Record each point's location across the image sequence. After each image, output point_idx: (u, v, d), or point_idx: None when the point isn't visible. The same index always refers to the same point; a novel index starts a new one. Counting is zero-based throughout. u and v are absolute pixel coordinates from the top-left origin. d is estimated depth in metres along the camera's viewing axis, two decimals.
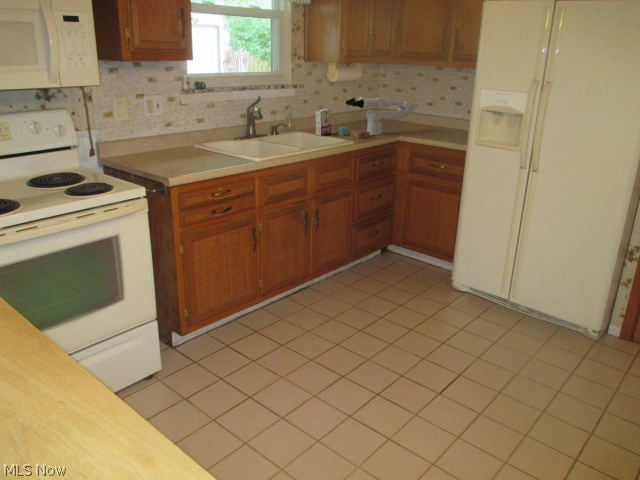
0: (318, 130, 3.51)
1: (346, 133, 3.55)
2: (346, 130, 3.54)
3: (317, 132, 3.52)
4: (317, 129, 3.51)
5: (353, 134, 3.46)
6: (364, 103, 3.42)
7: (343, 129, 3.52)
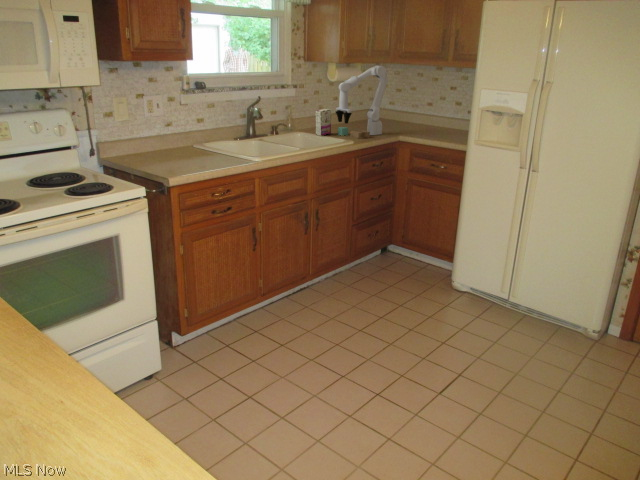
0: (318, 130, 3.51)
1: (346, 133, 3.55)
2: (346, 130, 3.54)
3: (317, 132, 3.52)
4: (317, 129, 3.51)
5: (353, 134, 3.46)
6: (348, 112, 3.46)
7: (343, 129, 3.52)
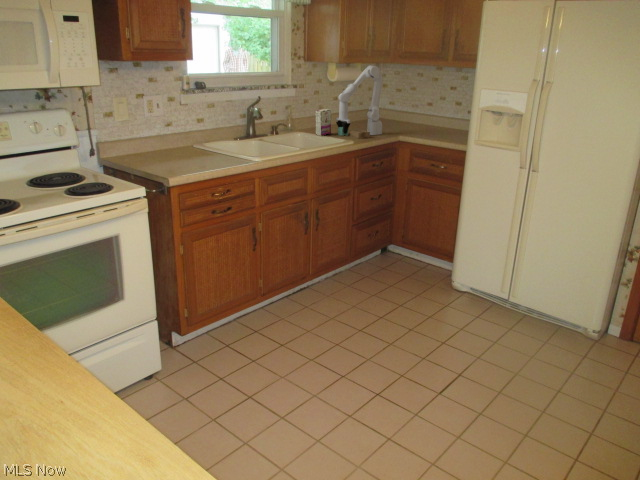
0: (318, 130, 3.51)
1: (346, 133, 3.55)
2: None
3: (317, 132, 3.52)
4: (317, 129, 3.51)
5: (353, 134, 3.46)
6: (348, 123, 3.48)
7: None
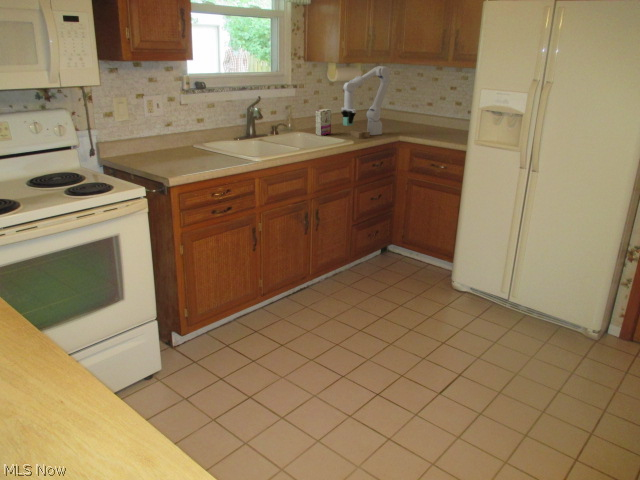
0: (318, 130, 3.51)
1: (351, 123, 3.50)
2: None
3: (317, 132, 3.52)
4: (317, 129, 3.51)
5: (354, 134, 3.46)
6: (353, 112, 3.43)
7: (348, 119, 3.48)
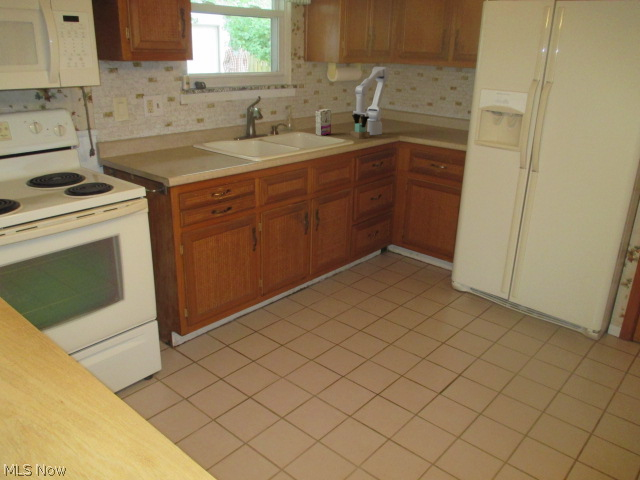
0: (318, 130, 3.51)
1: (363, 129, 3.46)
2: None
3: (317, 132, 3.52)
4: (317, 129, 3.51)
5: (354, 134, 3.46)
6: (366, 116, 3.38)
7: (360, 125, 3.43)
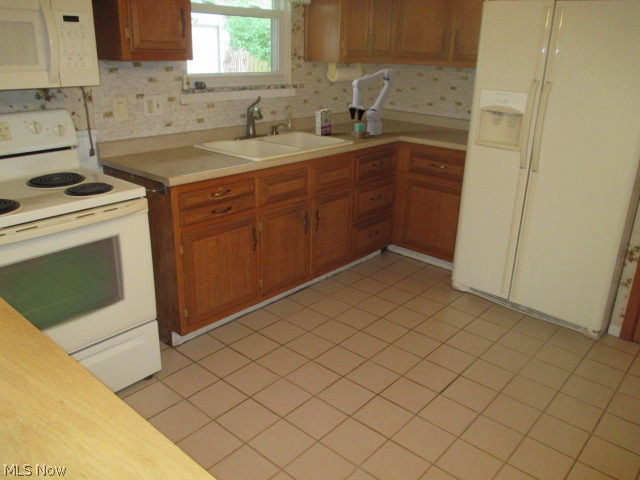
0: (318, 130, 3.51)
1: (363, 129, 3.45)
2: (363, 126, 3.45)
3: (317, 132, 3.52)
4: (317, 129, 3.51)
5: (354, 134, 3.46)
6: (362, 109, 3.42)
7: (360, 125, 3.43)
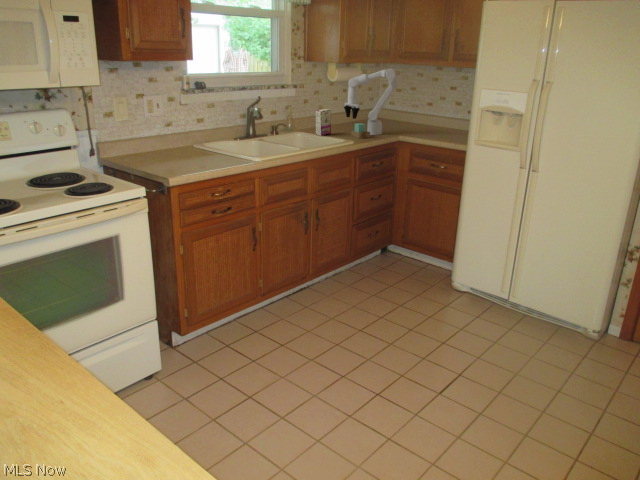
0: (318, 130, 3.51)
1: (363, 129, 3.45)
2: (363, 126, 3.45)
3: (317, 132, 3.52)
4: (317, 129, 3.51)
5: (354, 134, 3.46)
6: (356, 107, 3.51)
7: (360, 125, 3.43)
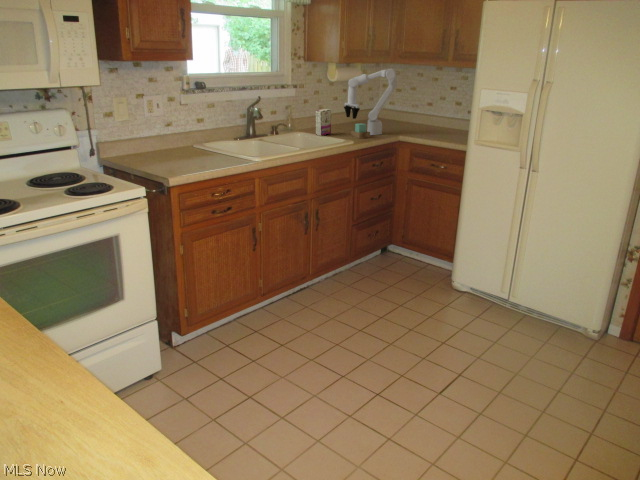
0: (318, 130, 3.51)
1: (363, 130, 3.45)
2: (364, 126, 3.45)
3: (317, 132, 3.52)
4: (317, 129, 3.51)
5: (354, 134, 3.46)
6: (356, 107, 3.51)
7: (360, 125, 3.43)
